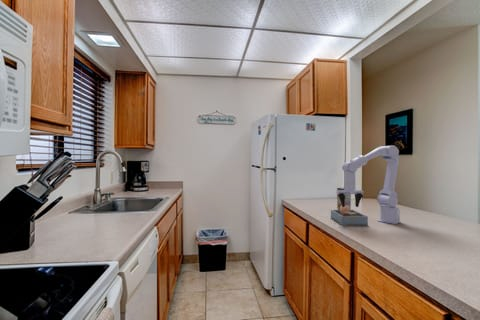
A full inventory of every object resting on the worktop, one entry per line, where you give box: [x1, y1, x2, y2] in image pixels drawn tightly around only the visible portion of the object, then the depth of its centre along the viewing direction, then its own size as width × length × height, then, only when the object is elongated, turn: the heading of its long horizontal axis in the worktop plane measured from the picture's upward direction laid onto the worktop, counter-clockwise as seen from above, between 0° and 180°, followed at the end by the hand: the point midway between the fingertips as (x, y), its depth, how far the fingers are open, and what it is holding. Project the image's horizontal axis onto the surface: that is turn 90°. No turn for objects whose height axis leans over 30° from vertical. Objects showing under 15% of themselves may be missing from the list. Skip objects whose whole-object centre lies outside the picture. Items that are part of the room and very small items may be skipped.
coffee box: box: [336, 187, 352, 210], centre depth 172 cm, size 9×6×16 cm
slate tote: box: [330, 209, 369, 227], centre depth 144 cm, size 18×14×5 cm
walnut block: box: [344, 211, 357, 216], centre depth 140 cm, size 5×5×5 cm
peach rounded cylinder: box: [340, 206, 349, 216], centre depth 148 cm, size 5×5×7 cm
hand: (350, 206), depth 140 cm, fingers open, 7 cm apart
